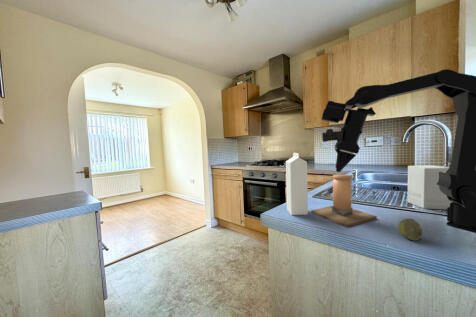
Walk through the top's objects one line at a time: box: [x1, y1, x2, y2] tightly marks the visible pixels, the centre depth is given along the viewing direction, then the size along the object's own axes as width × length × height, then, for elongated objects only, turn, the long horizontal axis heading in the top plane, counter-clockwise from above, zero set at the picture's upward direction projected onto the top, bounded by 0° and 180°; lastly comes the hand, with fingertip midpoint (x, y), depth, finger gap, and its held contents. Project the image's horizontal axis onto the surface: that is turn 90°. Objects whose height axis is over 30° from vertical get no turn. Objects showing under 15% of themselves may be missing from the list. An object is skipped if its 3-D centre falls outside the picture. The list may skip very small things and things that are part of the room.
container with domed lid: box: [332, 174, 353, 210], centre depth 64 cm, size 6×6×11 cm
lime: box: [398, 218, 423, 241], centre depth 48 cm, size 4×5×5 cm
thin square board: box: [310, 205, 378, 228], centre depth 65 cm, size 14×14×3 cm
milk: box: [285, 152, 309, 216], centre depth 69 cm, size 6×6×22 cm
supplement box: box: [406, 164, 452, 210], centre depth 71 cm, size 9×9×15 cm
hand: (337, 169), depth 66 cm, fingers open, 9 cm apart
